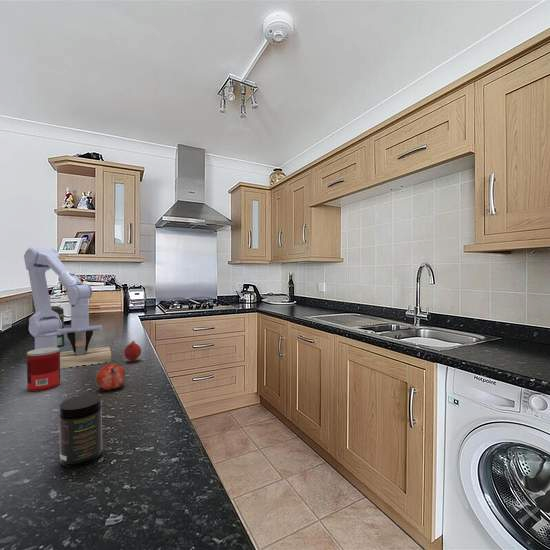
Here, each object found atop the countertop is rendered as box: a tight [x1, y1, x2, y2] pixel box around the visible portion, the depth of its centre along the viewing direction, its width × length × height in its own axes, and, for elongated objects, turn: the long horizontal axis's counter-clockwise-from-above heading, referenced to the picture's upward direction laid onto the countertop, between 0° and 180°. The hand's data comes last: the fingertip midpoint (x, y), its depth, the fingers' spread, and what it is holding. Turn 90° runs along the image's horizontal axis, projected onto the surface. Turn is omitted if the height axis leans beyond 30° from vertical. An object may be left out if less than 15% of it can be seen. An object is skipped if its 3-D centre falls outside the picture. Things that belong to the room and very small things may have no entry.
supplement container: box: [58, 394, 103, 468], centre depth 57 cm, size 7×7×10 cm
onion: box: [123, 340, 142, 362], centre depth 118 cm, size 6×6×8 cm
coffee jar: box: [44, 305, 65, 348], centre depth 145 cm, size 10×8×19 cm
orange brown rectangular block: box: [75, 339, 86, 356], centre depth 119 cm, size 5×3×7 cm, turn 31°
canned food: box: [26, 347, 61, 392], centre depth 93 cm, size 8×8×11 cm
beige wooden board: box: [60, 346, 112, 370], centre depth 119 cm, size 14×20×3 cm
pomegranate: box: [96, 363, 126, 391], centre depth 91 cm, size 7×7×10 cm
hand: (80, 351), depth 119 cm, fingers closed on orange brown rectangular block, 3 cm apart
